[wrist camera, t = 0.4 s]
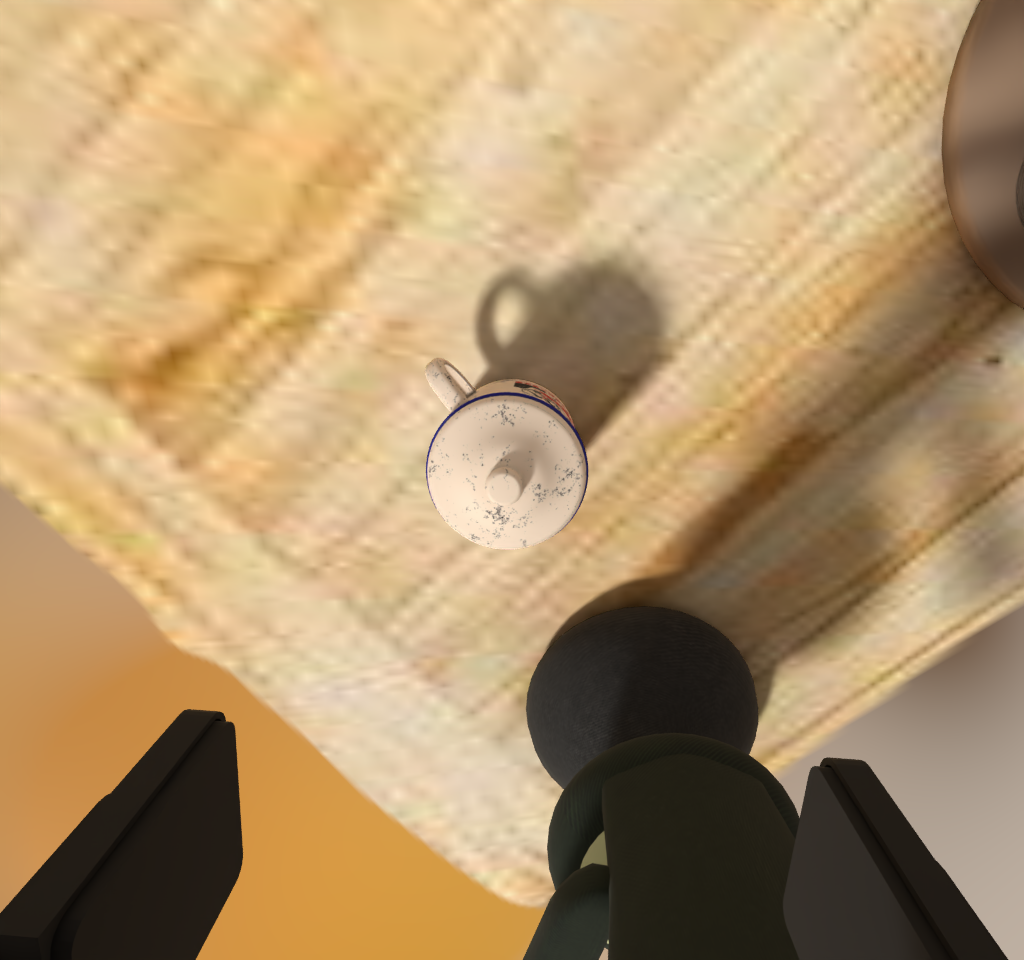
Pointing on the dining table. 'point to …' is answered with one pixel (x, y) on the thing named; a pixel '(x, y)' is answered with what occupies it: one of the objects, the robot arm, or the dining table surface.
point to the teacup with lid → (503, 460)
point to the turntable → (988, 142)
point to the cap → (1020, 194)
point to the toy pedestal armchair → (658, 796)
